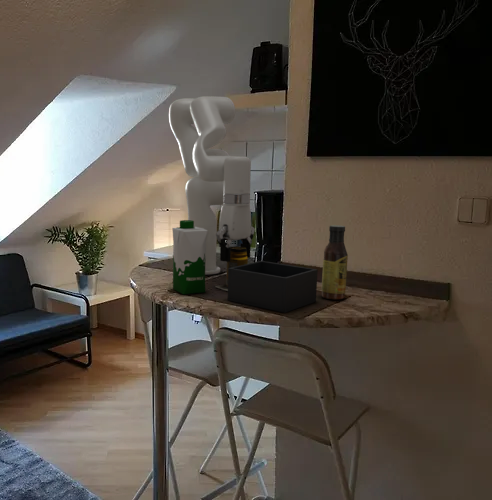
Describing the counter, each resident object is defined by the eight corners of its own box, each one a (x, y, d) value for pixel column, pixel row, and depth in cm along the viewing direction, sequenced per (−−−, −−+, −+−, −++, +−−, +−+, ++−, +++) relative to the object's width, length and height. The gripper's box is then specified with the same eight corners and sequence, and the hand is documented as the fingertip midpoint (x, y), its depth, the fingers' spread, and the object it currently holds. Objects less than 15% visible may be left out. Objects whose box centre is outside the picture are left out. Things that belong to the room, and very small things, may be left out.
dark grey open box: (227, 300, 156) (228, 268, 155) (260, 290, 167) (261, 260, 166) (284, 313, 144) (286, 278, 143) (316, 301, 155) (317, 269, 154)
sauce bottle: (341, 301, 155) (346, 228, 152) (318, 298, 158) (322, 226, 155) (347, 296, 160) (351, 225, 157) (324, 293, 164) (328, 223, 160)
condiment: (253, 288, 170) (254, 248, 168) (231, 292, 165) (232, 250, 163) (236, 284, 176) (237, 244, 174) (214, 287, 171) (215, 247, 169)
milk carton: (195, 286, 173) (196, 219, 169) (210, 293, 164) (211, 222, 161) (168, 288, 169) (169, 220, 166) (182, 295, 161) (183, 224, 158)
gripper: (243, 198, 175) (242, 254, 177) (207, 201, 162) (206, 261, 165) (264, 199, 169) (263, 257, 172) (229, 202, 157) (227, 264, 160)
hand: (235, 259), depth 168 cm, fingers open, 9 cm apart
